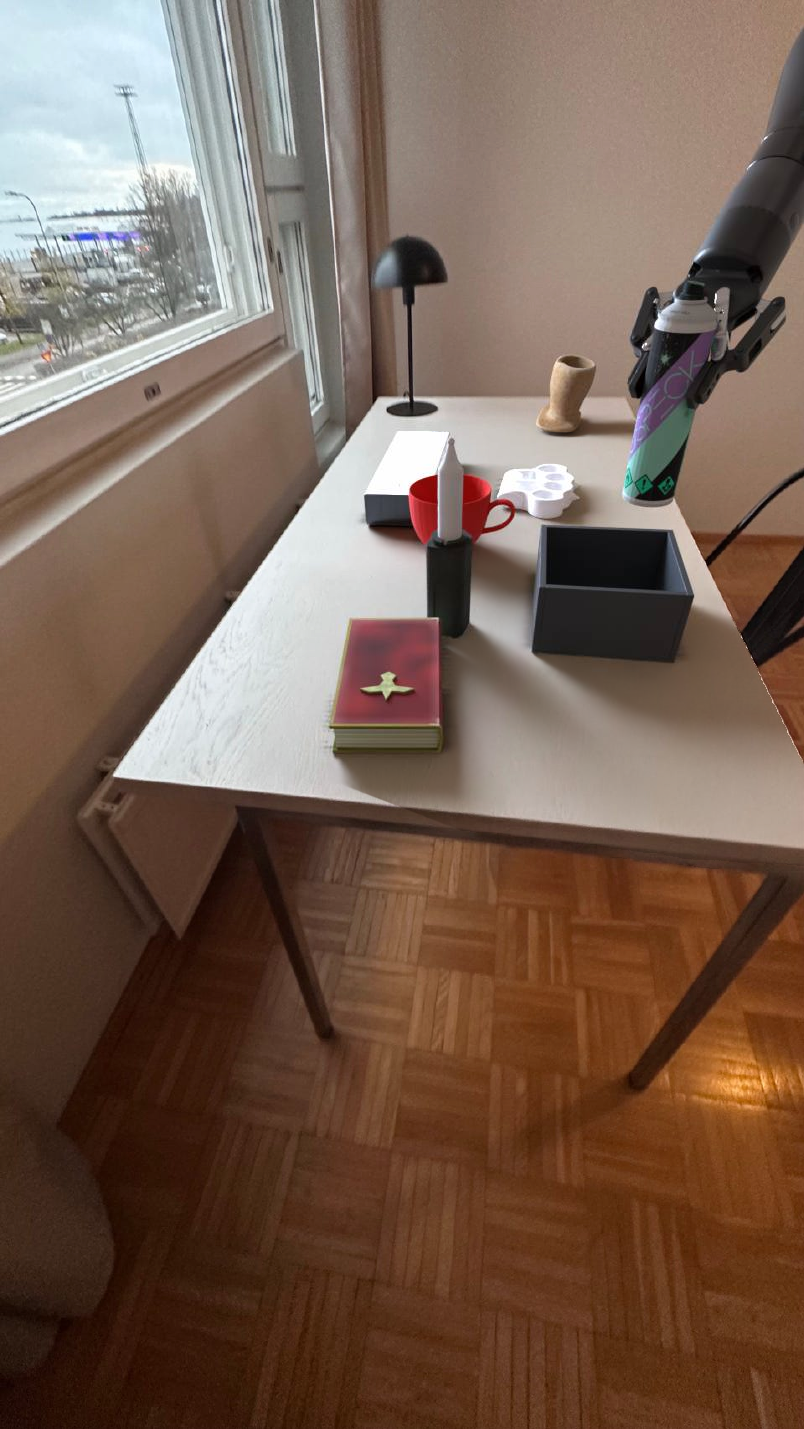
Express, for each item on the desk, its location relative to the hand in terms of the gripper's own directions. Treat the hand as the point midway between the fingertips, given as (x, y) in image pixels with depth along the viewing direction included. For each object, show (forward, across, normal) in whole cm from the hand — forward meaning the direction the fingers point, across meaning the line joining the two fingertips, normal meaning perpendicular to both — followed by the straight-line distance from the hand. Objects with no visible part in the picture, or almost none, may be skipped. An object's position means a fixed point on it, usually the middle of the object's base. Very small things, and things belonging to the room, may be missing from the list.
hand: (661, 398), depth 62 cm
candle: (+29, +19, -14) cm, 37 cm away
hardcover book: (+39, +14, -3) cm, 42 cm away
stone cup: (-29, +56, -73) cm, 97 cm away
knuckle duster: (-2, +35, -45) cm, 57 cm away
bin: (+18, +4, -24) cm, 31 cm away
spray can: (+6, 0, -9) cm, 11 cm away
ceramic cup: (+16, +33, -27) cm, 45 cm away
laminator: (+7, +56, -36) cm, 67 cm away
